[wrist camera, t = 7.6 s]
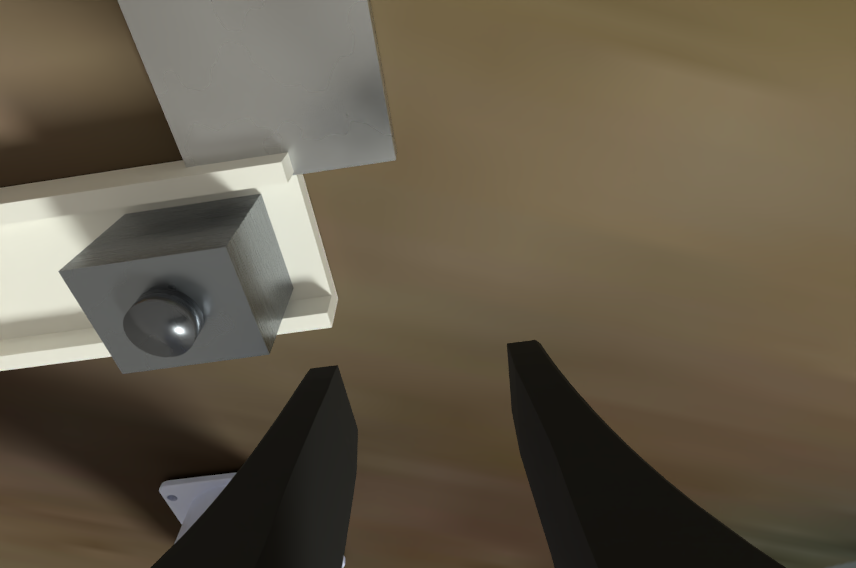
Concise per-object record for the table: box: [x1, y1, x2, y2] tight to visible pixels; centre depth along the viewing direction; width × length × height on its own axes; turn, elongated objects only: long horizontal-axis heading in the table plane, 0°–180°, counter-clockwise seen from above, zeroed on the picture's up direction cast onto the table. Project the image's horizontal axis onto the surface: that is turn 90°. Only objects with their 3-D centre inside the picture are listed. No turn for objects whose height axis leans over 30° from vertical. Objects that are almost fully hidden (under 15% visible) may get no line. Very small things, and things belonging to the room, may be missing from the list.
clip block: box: [58, 194, 294, 374], centre depth 17 cm, size 4×5×5 cm
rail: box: [0, 152, 338, 371], centre depth 19 cm, size 7×24×2 cm, turn 98°
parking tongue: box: [118, 0, 397, 175], centre depth 16 cm, size 7×7×1 cm
